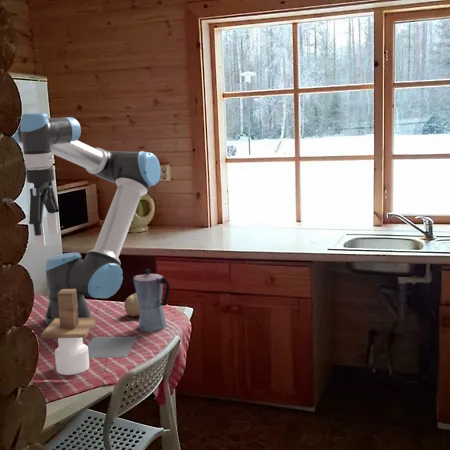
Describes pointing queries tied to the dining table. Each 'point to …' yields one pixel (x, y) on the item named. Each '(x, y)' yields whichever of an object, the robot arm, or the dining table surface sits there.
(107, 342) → the rubber mat
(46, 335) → the walnut lid
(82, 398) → the dining table surface
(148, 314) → the moka pot
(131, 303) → the fruit
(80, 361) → the cylinder with rectangular tab
